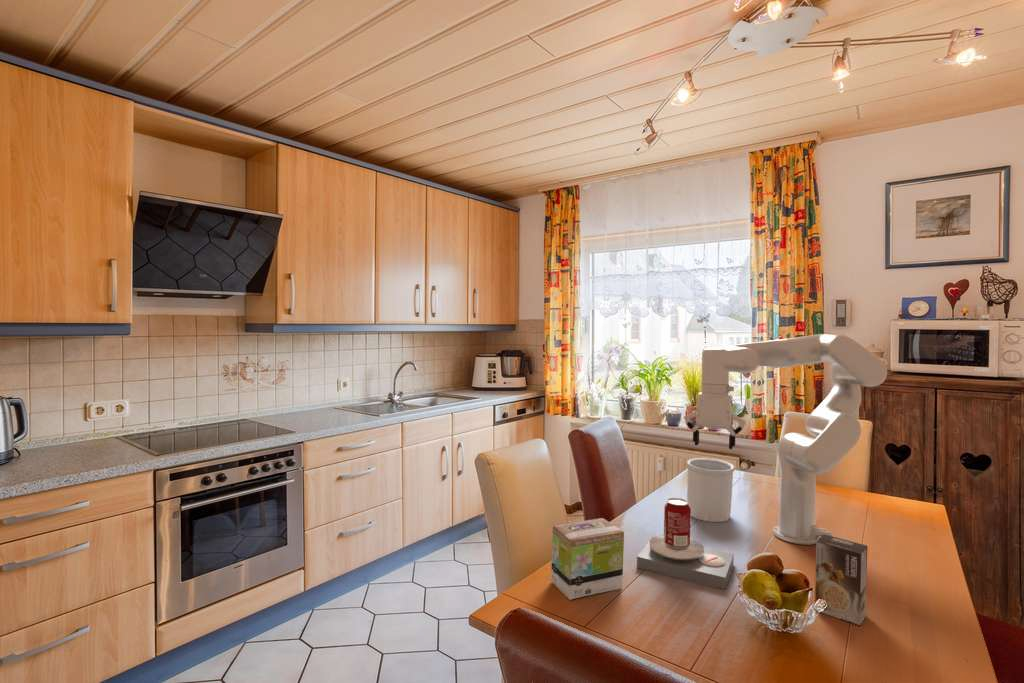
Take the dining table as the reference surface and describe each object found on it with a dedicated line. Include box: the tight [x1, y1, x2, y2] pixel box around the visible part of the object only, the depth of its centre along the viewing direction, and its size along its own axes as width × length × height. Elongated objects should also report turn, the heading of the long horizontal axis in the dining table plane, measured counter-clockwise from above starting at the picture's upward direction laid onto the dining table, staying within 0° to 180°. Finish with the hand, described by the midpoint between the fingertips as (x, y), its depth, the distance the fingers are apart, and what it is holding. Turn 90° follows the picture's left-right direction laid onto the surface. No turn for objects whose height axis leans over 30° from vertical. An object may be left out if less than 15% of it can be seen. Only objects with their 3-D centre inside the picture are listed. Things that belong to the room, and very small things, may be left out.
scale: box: [636, 536, 735, 590], centre depth 141 cm, size 22×15×4 cm
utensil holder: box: [686, 457, 735, 523], centre depth 177 cm, size 15×15×18 cm
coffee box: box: [814, 534, 868, 626], centre depth 119 cm, size 9×6×16 cm
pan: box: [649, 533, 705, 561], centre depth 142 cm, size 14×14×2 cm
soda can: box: [663, 497, 692, 549], centre depth 142 cm, size 7×7×12 cm
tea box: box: [550, 517, 625, 601], centre depth 130 cm, size 15×10×15 cm, turn 114°
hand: (713, 446), depth 157 cm, fingers open, 9 cm apart
